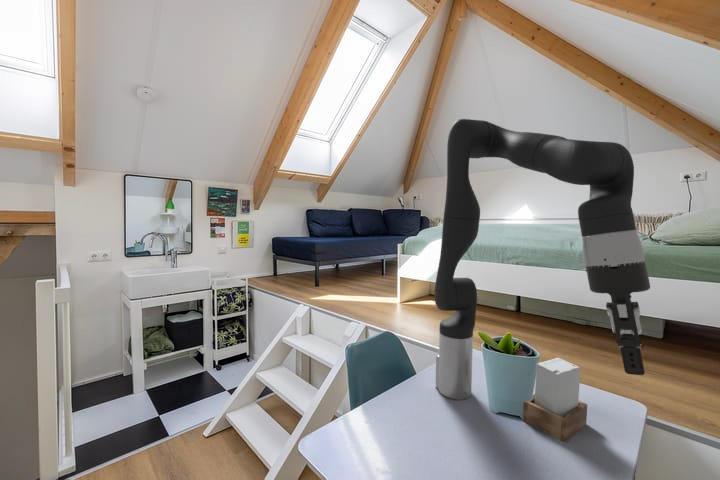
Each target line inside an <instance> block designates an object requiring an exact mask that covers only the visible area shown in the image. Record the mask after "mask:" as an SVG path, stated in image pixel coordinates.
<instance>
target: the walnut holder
mask: <svg viewBox="0 0 720 480" xmlns="http://www.w3.org/2000/svg"><path fill="white" fill-rule="evenodd" d="M531 396H532V399H531V400H528V401H525V400H524V401H523V409H522V411H523V412H522V421H523V422H525V423H527V424H529V425H531V426H532V427H535V428H536V429H539V430H540V431H542V432H544V433H546V434H547V435H549V436H552V437H554V438H555V439H556V440H560V441H561V442H563V443H565V444H566V443H568V442H569V440H571V438H572V437H574V436H575V435H576V434H577V433H579V431H580V430H581V429H583V428H584V427H585V426H586V425H587V422H588V421H587V419H588V418H587V416H588V404H587V403H585V402H583V401H580V400H578V406H577V407H576V408H575V409H574V410H572V411H571V412H570V413H568V414H567V415H566V416H565V417H561V416H559V415H557V414H555V413H553V412H551V411H549V410H547V409H544V408H542V407H540V406H538V405H536V404H535V393H534V394H532V395H531Z"/></svg>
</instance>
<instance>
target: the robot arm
mask: <svg viewBox="0 0 720 480" xmlns="http://www.w3.org/2000/svg"><path fill="white" fill-rule="evenodd" d="M446 146H447V147H446V153H447V154H446V156H447V157H446V159H447V161H446V165H447V167H446V168H447V169H446V171H447V174H446V190H445V191H446V192H445V204H444V211H443V220H442V233H441V245H440V246H441V247H440V255H439V263H438V267H437V273H436V276H435V277H436V278H435V283H434V285H435V286H434V303H435V306H436V307H437V309H438V310H441V311H444V312H451V311H453V312H454V311H455V312H454V313H453V314H452V315H451V316H449V317H447V318H444V319H442V320H441V321H440V323H439V332H438V333H439V335H438V336H439V337H438V338H439V340H438V342H439V343H438V355H436V357H435V388H437V390H438V392H439V393H440V394H441V395H443V396H445V397H446V398H449V399H452V400H466V399H469V398H470V397H471V396H472V384H473V382H472V380H473V348H474V347H473V346H474V345H473V343H474V342H473V341H474V330H475V329H474V328H475V326H476V316H477V304H478V303H477V302H478V292H477V291H478V289H477V286H476V283H475V281H474V280H473V279H472V278H469V277H454V276H455V273H456V272H455V271H456V270H457V266H458V264H459V262H460V261H461V260H462V258H463V257H464V255H465V254H466V252H467V251H469V249H470V248H471V246H472V245H473V244H474V243H475V241H476V239H477V236H478V234H479V226H480V219H481V208H480V205H479V201H478V198H477V196H476V193H475V191H474V190H473V187H472V185H471V182H470V174H469V173H470V172H469V170H470V159H482V158H499V159H504V160H508V162H509V161H510V163H512V164H514V165H516V166H518V167H519V168H520V167H521V168H524V169H527V170H530V171H534V172H538V173H542V174H547V175H548V176H550V177H552V178H554V179H556V180H558V181H560V182H564V183H568V184H572V185H577V186H589V197H588V200H586V201H584V202H582V203H581V204H580V205H579V206H578V209H577V216H578V222H579V228H580V233H581V238H582V254H583V258H584V259H583V260H584V265H585V271H586V275H587V281H588V285H589V290H590V292H592V293H596V294H608V295H609V296H610V299H611V300H610V301H611V302H610V301H609V302H608V301H607V302H606V304H605V307H606V313H607V315H608V317H609V320H610V326H611V329H612V333H613V334H615V335H616V339H615V343H616V344H617V346H618V348H619V349H620V353H621V359H622V363H623V370H624V372H625V373H626V374H628V375H633V376H635V375H636V376H644V375H645V367H644V362H643V357H642V351H641V349H642V347H641V346H642V345H643V344H642V341H641V340H640V336H639V335H641V334H642V333H643V332H642V331H643V330H642V324H641V320H640V319H641V318H640V316H641V310H640V306H639V302H638V301H632V300H631V298H632V295H631V294H633V293H642V292H646V291H648V290H650V289H651V283H650V282H651V281H650V278H649V273H648V268H647V264H646V260H645V255H644V254H645V253H644V249H643V245H642V241H641V239H640V237H639V234H638V231H637V225H636V222H635V216H634V212H633V209H632V197H633V193H634V191H633V190H634V179H635V178H634V177H635V165H634V161H633V158H632V155H631V153H630V152H629V150H628V149H627V147H626V146H624V145H622V144H620V143H618V142H613V141H596V140H594V141H593V140H581V139H569V138H567V137H566V138H565V137H564V136H561V135H555V134H554V135H553V134H547V133H541V132H540V133H539V132H527V131H526V132H525V131H514V130H511V129H507V128H504V127H502V126H499V125H496V124H494V123H492V122H489V121H487V120H481V119H480V120H479V119H468V118H462V119H461V118H460V119H457V120H455V122H454V123H453V124H452V125H451V127H450V129H449V133H448V136H447V145H446Z"/></svg>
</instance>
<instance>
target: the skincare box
mask: <svg viewBox="0 0 720 480" xmlns="http://www.w3.org/2000/svg"><path fill="white" fill-rule="evenodd" d="M537 364H538V365H537ZM535 369H536V370H535V388H534V389H535V390H534V394H535V404H536V405H538V406H540V407H542V408H544V409H547V410H549V411H551V412H553V413H555V414H557V415H559V416H561V417H565V416H566V415H567V414H568V413H570V412H571V411H572V410H574V409H575V408H576V407H577V406H578V401H579V396H580V382H581V380H580V379H581V367H580V366H579V365H576V364H574V363H571V362H569V361H568V360H565V359H563V358H560V357H555V358H552V359H549V360H548V359H547V360H545V361H542V362H537V363H536V366H535Z"/></svg>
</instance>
